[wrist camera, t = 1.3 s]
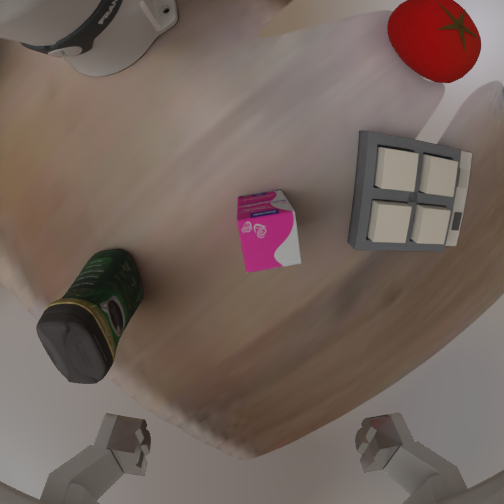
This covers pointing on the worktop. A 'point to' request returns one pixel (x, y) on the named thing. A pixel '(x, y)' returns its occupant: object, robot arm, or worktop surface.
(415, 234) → the button
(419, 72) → the tomato
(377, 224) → the button
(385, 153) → the button
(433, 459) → the robot arm
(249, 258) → the supplement box
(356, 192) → the button board
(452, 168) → the button
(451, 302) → the worktop surface
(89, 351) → the coffee jar
